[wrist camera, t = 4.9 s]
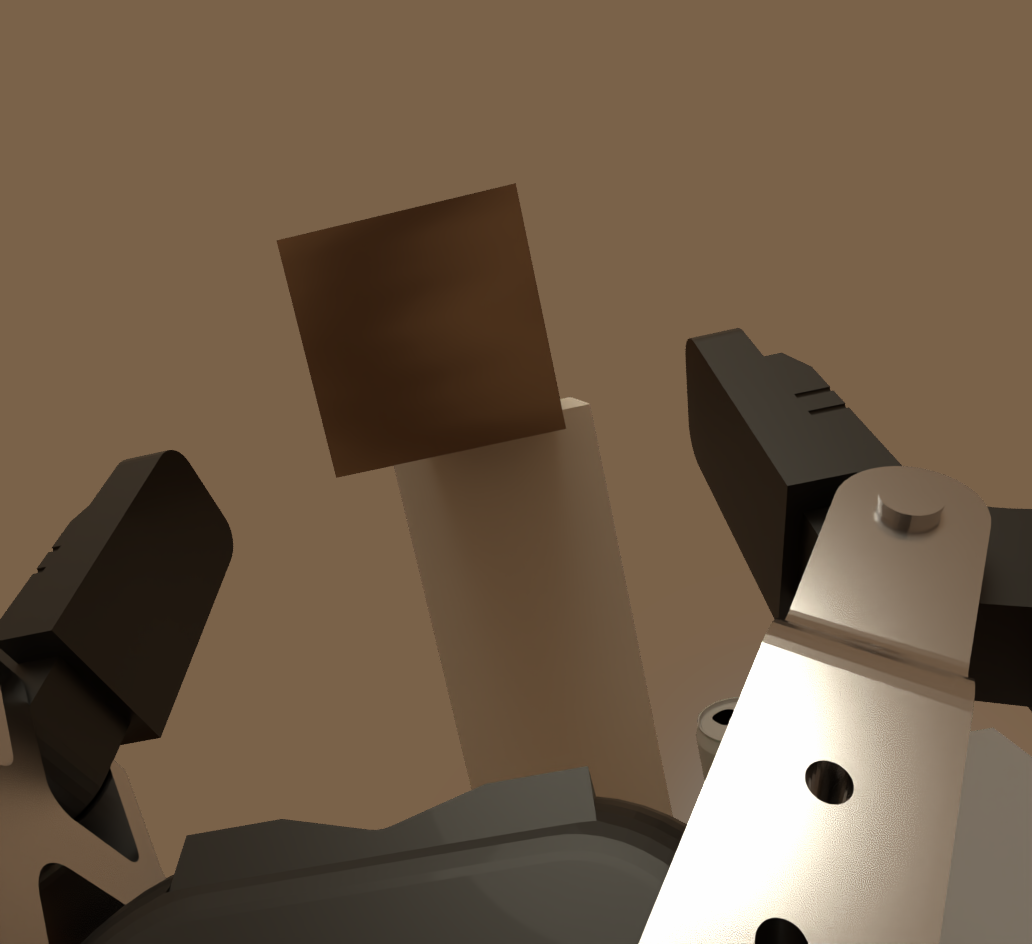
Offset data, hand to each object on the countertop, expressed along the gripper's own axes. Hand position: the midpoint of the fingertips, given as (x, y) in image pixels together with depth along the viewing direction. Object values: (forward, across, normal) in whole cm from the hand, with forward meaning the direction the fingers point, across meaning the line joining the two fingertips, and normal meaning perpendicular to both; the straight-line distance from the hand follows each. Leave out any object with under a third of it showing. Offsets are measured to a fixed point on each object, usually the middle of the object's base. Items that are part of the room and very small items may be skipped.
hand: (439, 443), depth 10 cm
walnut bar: (+10, 0, +6) cm, 12 cm away
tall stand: (-3, 0, +36) cm, 36 cm away
